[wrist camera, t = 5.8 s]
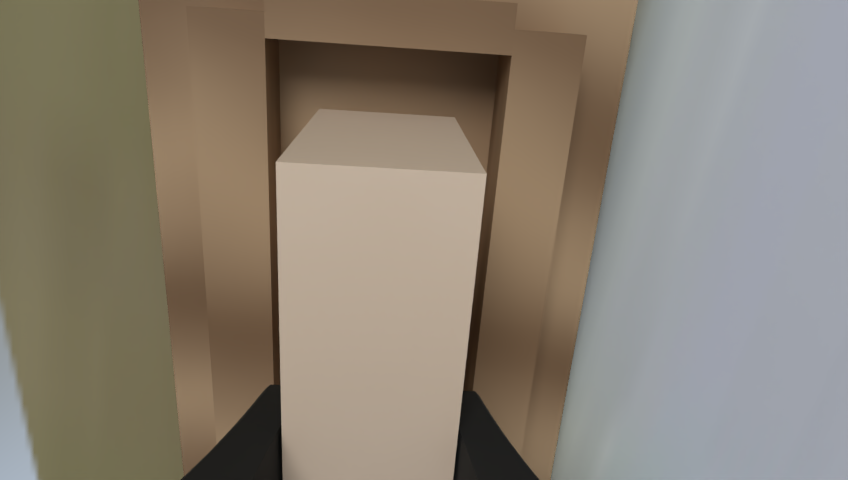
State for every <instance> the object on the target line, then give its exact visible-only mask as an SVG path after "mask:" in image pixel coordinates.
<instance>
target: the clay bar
mask: <svg viewBox="0 0 848 480" xmlns="http://www.w3.org/2000/svg"><path fill="white" fill-rule="evenodd" d="M486 176H487V173H486V172H485V170H484V168H483V166H482V165H481V163H480V161H479V159H478V158H477V156H476V154H475V152H474V150H473V149H472V147H471V145H470V143H469V142H468V140H467V138H466V136H465V135H464V133H463V131H462V129H461V128H460V126H459V124H458V122H457V121H456V119H455V117H443V116H427V115H411V114H395V113H379V112H363V111H347V110H331V109H319V110H318V111H317V112H316V114H315V115H314V116H313V117H312V118H311V120H310V121H309V122H308V123H307V125H306V126H305V127H304V128H303V129H302V131H301V132H300V133H299V134H298V135H297V137H296V138H295V139H294V140H293V142H292V143H291V144H290V145H289V146H288V148H287V149H286V150H285V151H284V152H283V154H282V155H281V156H280V157H279V158H278V160H277V161H276V198H277V244H278V290H279V336H280V382H281V428H282V473H283V480H453V476H454V467H455V458H456V448H457V439H458V430H459V421H460V412H461V403H462V394H463V385H464V376H465V367H466V358H467V349H468V340H469V330H470V321H471V312H472V303H473V294H474V285H475V276H476V267H477V258H478V249H479V240H480V231H481V222H482V213H483V203H484V194H485V185H486Z"/></svg>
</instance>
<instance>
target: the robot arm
mask: <svg viewBox="0 0 848 480" xmlns="http://www.w3.org/2000/svg"><path fill="white" fill-rule="evenodd" d="M181 480H283V473H282V428H281V385H269V386H268V387H267V388H266V389H265V390H264V391H263V392H262V393H261V395H260V396H259V397H258V398H257V399H256V401H255V402H254V403H253V404H252V405H251V407H250V408H249V409H248V410H247V411H246V413H245V414H244V415H243V416H242V417H241V418H240V419H239V421H238V422H237V423H236V424H235V425H234V426H233V427H232V428H231V430H230V431H229V432H228V433H227V434H226V435H225V436H224V437H223V438H222V439H221V440H220V441H219V442H218V443H217V445H216V446H215V447H214V448H213V449H212V450H211V451H210V452H209V453H208V454H207V455H206V456H205V457H204V458H203V459H202V460H201V461H200V462H199V463H198V464H196V465H195V466H194V467H193V468H192V469H191V470H190V471H189V472H188V473H187V474H186V475H185V476H184V477H183V478H182V479H181ZM453 480H539V478H538V477H537V476H536V475H535V474H534V472H533V471H532V470H531V469H530V468H529V466H528V465H527V464H526V463H525V461H524V460H523V459H522V457H521V456H520V455H519V453H518V452H517V451H516V449H515V448H514V447H513V445H512V444H511V443H510V441H509V440H508V439H507V437H506V436H505V434H504V433H503V432H502V430H501V429H500V427H499V426H498V424H497V423H496V421H495V420H494V418H493V417H492V415H491V414H490V412H489V411H488V409H487V408H486V406H485V404H484V403H483V401H482V399H481V398H480V396H479V395H478V394H477V393H476V392H475V391H463V394H462V403H461V412H460V421H459V430H458V439H457V448H456V458H455V467H454V476H453Z"/></svg>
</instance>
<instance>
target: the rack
mask: <svg viewBox="0 0 848 480" xmlns="http://www.w3.org/2000/svg"><path fill="white" fill-rule="evenodd" d="M138 1H139V12H140V22H141V33H142V43H143V53H144V64H145V74H146V85H147V95H148V106H149V116H150V127H151V137H152V147H153V158H154V168H155V179H156V189H157V200H158V210H159V221H160V231H161V241H162V252H163V262H164V273H165V283H166V294H167V304H168V315H169V325H170V335H171V346H172V356H173V367H174V377H175V388H176V398H177V409H178V419H179V429H180V440H181V450H182V461H183V471H184V476H185V475H186V474H187V473H188V472H189V471H190V470H191V469H192V468H193V467H194V466H195V465H196V464H198V463H199V462H200V461H201V460H202V459H203V458H204V457H205V456H206V455H207V454H208V453H209V452H210V451H211V450H212V449H213V448H214V447H215V446H216V445H217V443H218V442H219V441H220V440H221V439H222V438H223V437H224V436H225V435H226V434H227V433H228V432H229V431H230V430H231V428H232V427H233V426H234V425H235V424H236V423H237V422H238V421H239V419H240V418H241V417H242V416H243V415H244V414H245V413H246V411H247V410H248V409H249V408H250V407H251V405H252V404H253V403H254V402H255V401H256V399H257V398H258V397H259V396H260V395H261V393H262V392H263V391H264V390H265V389H266V388H267V387H268V386H269V385H281V382H280V336H279V290H278V244H277V198H276V161H277V160H278V158H279V157H280V156H281V155H282V154H283V152H284V151H285V150H286V149H287V148H288V146H289V145H290V144H291V143H292V142H293V140H294V139H295V138H296V137H297V135H298V134H299V133H300V132H301V131H302V129H303V128H304V127H305V126H306V125H307V123H308V122H309V121H310V120H311V118H312V117H313V116H314V115H315V114H316V112H317V111H318V110H319V109H331V110H347V111H363V112H379V113H395V114H411V115H427V116H443V117H455V119H456V121H457V122H458V124H459V126H460V128H461V129H462V131H463V133H464V135H465V136H466V138H467V140H468V142H469V143H470V145H471V147H472V149H473V150H474V152H475V154H476V156H477V158H478V159H479V161H480V163H481V165H482V166H483V168H484V170H485V172H486V173H487V176H486V185H485V194H484V203H483V213H482V222H481V231H480V240H479V249H478V258H477V267H476V276H475V285H474V294H473V303H472V312H471V321H470V330H469V340H468V349H467V358H466V367H465V376H464V385H463V391H475V392H476V393H477V394H478V395H479V396H480V398H481V399H482V401H483V403H484V404H485V406H486V408H487V409H488V411H489V412H490V414H491V415H492V417H493V418H494V420H495V421H496V423H497V424H498V426H499V427H500V429H501V430H502V432H503V433H504V434H505V436H506V437H507V439H508V440H509V441H510V443H511V444H512V445H513V447H514V448H515V449H516V451H517V452H518V453H519V455H520V456H521V457H522V459H523V460H524V461H525V463H526V464H527V465H528V466H529V468H530V469H531V470H532V471H533V472H534V474H535V475H536V476H537V477H538V478H539V480H550V478H551V473H552V467H553V462H554V457H555V451H556V446H557V440H558V435H559V429H560V424H561V418H562V413H563V407H564V402H565V396H566V391H567V386H568V380H569V375H570V369H571V364H572V358H573V353H574V347H575V342H576V336H577V331H578V325H579V320H580V315H581V309H582V304H583V298H584V293H585V287H586V282H587V276H588V271H589V265H590V260H591V254H592V249H593V244H594V238H595V233H596V227H597V222H598V216H599V211H600V205H601V200H602V194H603V189H604V183H605V178H606V173H607V167H608V162H609V156H610V151H611V145H612V140H613V134H614V129H615V123H616V118H617V112H618V107H619V102H620V96H621V91H622V85H623V80H624V74H625V69H626V63H627V58H628V52H629V47H630V41H631V36H632V30H633V25H634V20H635V14H636V9H637V3H638V0H138Z"/></svg>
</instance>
